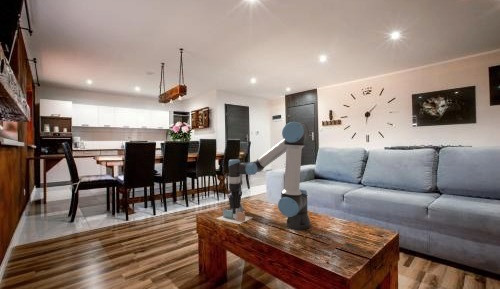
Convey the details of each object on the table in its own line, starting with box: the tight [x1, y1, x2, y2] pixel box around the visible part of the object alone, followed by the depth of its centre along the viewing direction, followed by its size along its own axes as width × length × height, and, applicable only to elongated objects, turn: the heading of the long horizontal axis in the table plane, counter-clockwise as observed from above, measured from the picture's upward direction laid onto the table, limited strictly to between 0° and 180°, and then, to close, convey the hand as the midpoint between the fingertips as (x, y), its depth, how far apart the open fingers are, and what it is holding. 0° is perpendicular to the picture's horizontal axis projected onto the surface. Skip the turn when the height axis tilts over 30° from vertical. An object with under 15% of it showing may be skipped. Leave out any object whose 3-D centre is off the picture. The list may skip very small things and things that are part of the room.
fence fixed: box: [222, 207, 235, 219], centre depth 167 cm, size 11×2×7 cm, turn 54°
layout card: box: [216, 215, 254, 225], centre depth 166 cm, size 21×16×1 cm
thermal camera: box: [227, 174, 245, 213], centre depth 186 cm, size 12×13×35 cm
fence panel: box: [237, 210, 246, 222], centre depth 161 cm, size 8×1×6 cm, turn 54°
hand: (235, 218), depth 156 cm, fingers closed
